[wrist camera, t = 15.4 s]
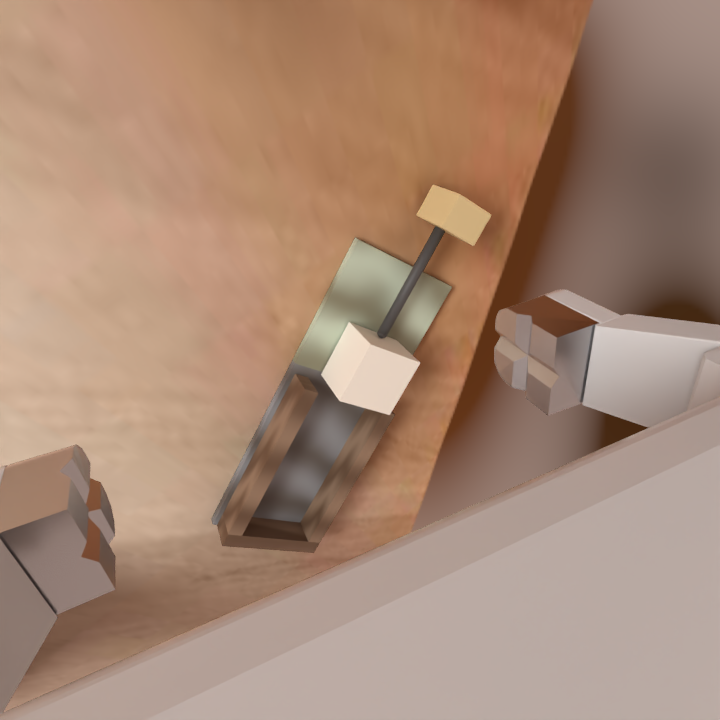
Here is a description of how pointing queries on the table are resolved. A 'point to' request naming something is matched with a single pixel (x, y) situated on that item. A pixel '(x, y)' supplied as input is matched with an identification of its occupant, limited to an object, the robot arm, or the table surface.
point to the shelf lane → (321, 413)
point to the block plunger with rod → (374, 349)
